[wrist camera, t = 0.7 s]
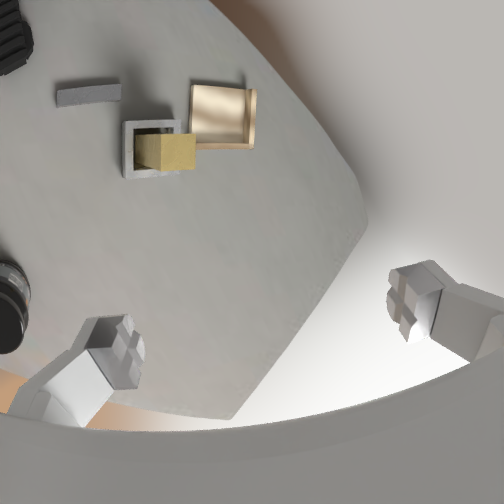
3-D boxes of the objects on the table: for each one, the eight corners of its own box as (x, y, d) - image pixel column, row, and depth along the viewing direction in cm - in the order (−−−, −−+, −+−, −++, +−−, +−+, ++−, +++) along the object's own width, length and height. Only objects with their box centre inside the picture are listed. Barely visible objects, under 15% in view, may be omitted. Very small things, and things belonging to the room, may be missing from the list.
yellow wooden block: (135, 134, 42) (161, 134, 32) (161, 133, 45) (196, 133, 34) (135, 162, 44) (160, 171, 33) (161, 160, 46) (195, 169, 36)
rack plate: (191, 85, 44) (198, 83, 41) (246, 91, 50) (256, 89, 47) (188, 148, 48) (196, 149, 46) (243, 148, 54) (253, 149, 52)
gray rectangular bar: (57, 108, 34) (56, 106, 32) (57, 92, 33) (57, 90, 31) (119, 100, 39) (121, 99, 37) (119, 85, 38) (121, 83, 36)
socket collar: (122, 122, 40) (125, 121, 38) (174, 120, 45) (181, 119, 43) (122, 177, 44) (125, 179, 41) (173, 172, 48) (180, 174, 46)
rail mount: (37, 60, 28) (35, 51, 25) (1, 80, 26) (-6, 74, 22) (22, -35, 17) (20, -49, 13) (-13, -18, 14) (-18, -30, 11)
